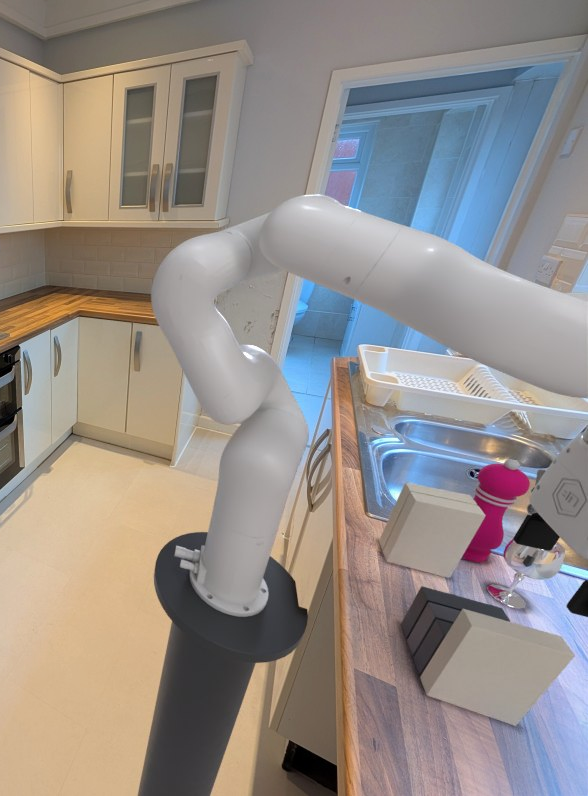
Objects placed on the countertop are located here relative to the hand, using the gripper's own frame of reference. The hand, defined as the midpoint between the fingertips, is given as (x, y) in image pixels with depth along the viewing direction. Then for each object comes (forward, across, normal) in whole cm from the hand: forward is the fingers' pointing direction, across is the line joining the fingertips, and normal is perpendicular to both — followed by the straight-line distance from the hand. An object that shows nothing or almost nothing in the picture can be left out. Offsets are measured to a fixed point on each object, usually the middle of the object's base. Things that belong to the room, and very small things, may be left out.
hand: (557, 577), depth 46 cm
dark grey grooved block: (+23, -5, -1) cm, 23 cm away
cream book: (+23, 0, -1) cm, 23 cm away
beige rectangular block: (+23, -26, +1) cm, 34 cm away
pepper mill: (+23, -32, +11) cm, 41 cm away
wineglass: (+23, -22, +12) cm, 34 cm away
